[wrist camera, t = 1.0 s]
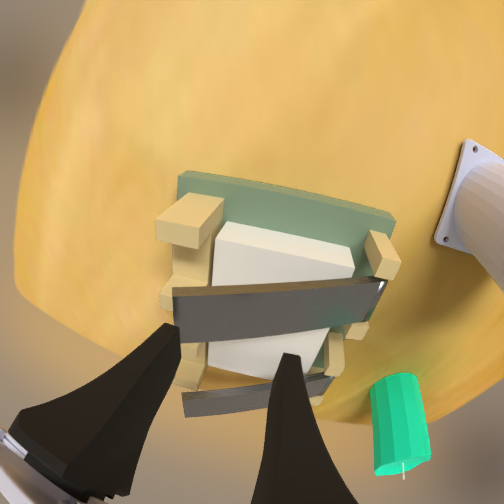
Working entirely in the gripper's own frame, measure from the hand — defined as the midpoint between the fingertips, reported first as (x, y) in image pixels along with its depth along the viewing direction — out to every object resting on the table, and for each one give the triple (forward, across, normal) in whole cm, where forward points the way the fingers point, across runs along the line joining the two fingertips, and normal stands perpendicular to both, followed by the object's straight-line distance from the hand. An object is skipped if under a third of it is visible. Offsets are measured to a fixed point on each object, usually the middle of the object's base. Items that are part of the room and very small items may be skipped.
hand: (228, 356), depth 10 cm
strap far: (+4, -2, +9) cm, 10 cm away
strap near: (+4, -2, 0) cm, 5 cm away
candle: (+11, -18, +15) cm, 26 cm away
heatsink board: (+10, -1, +4) cm, 11 cm away
